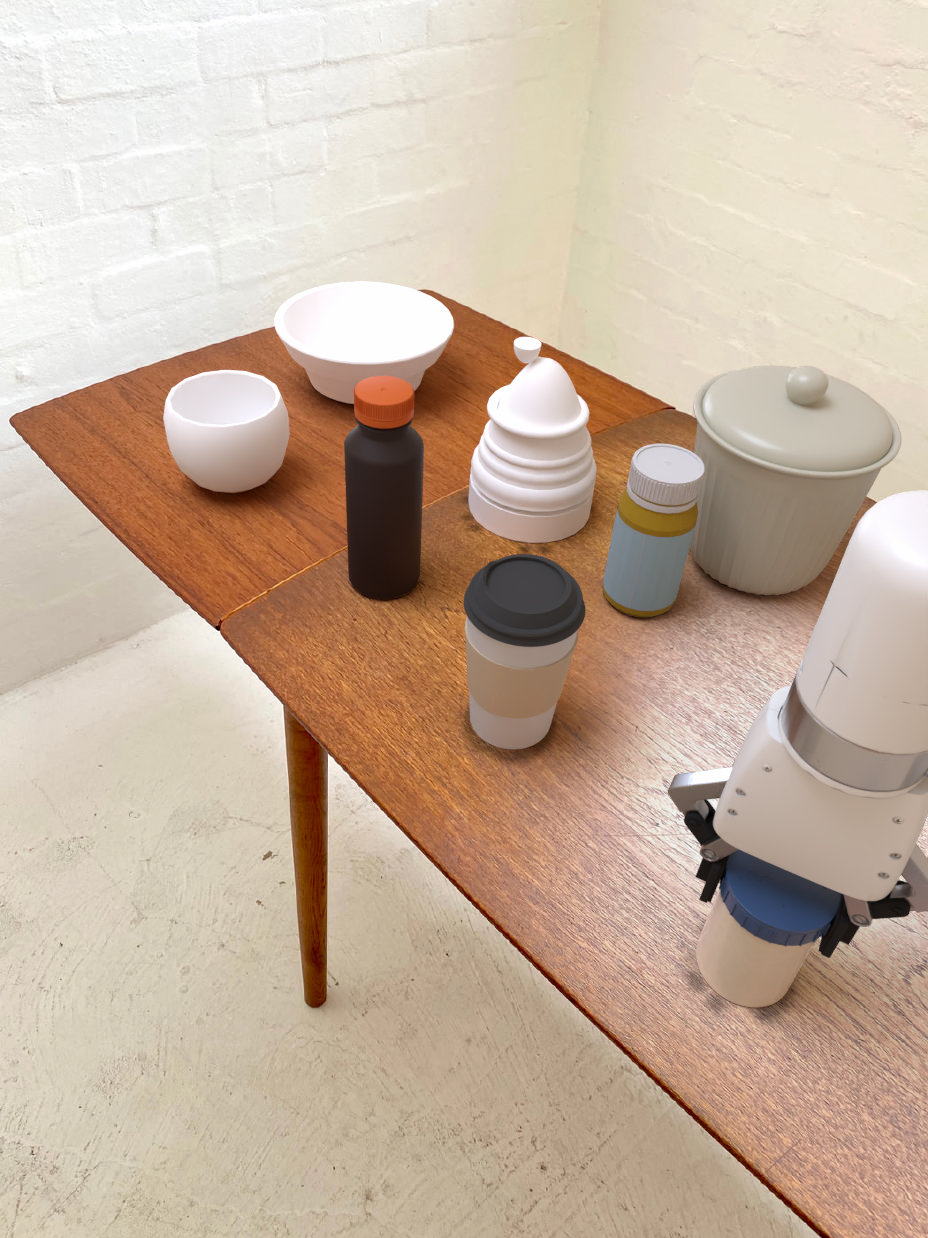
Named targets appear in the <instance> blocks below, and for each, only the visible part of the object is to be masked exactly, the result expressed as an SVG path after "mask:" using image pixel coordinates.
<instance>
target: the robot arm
mask: <svg viewBox="0 0 928 1238" xmlns="http://www.w3.org/2000/svg"><path fill="white" fill-rule="evenodd" d="M792 680H793V681H792V682H791V684H790V685H785V686H782V687H780V688H778V689H777V690H776V691H774V693H772V695H771V696H770V697H769V698H768V700H767V701H766V702H765V703H764V705H763V706H762V707H761V709H760V711H759V712H758V714H757V715H756V717H755V718H754V720H753V722H752V724H751V725H750V727H749V729H748V731H747V733H746V735H745V737H744V739H743V741H742V743H741V745H740V747H739V750H738V752H737V754H736V755H735V758H734V761H733V763H732V765H731V766H728V767H720V768H714V769H713V768H712V769H706V770H705V769H704V770H697V771H690V772H683V773H677V774H675V775H674V776H673V778H672V780H671V782H670V784H669V787H668V789H667V794H668V796H669V798H670V800H671V801H672V802H673V803H674V805H675V807H676V808H677V810H678V811H679V813H682V815H683V823H684V824H685V826H686V827H687V829H688V830H689V831H690V833H691V834H692V835H693V837H694V838H695V839H696V841H697V842H698V843H699V845H700V848H699V855H700V856H701V858H702V859H701V861H700V864H699V867H698V869H697V872H696V874H695V878H696V879H698V880H701V881H703V882H704V886H703V889H702V891H701V893H700V896H699V898H698V900H699V901H701V902H702V903H703V902H704V903H705V904H707V903H712V900H713V898H714V897H715V893H716V892H717V888H718V887H719V885H720V879H721V876H722V874H723V871H724V869H725V866H726V863H727V861H728V858H729V855H730V854H732V853H734V852H736V851H738V850H741V851H743V852H746V853H748V854H750V855H752V856H755V857H757V858H759V859H761V860H764V861H766V862H768V863H770V864H773V865H775V866H777V867H780V868H782V869H784V870H787V871H789V872H791V873H794V874H796V875H798V876H801V877H803V878H805V879H808V880H810V881H813V882H815V883H817V884H820V885H822V886H824V887H827V888H829V889H832V890H834V891H837V892H839V893H841V901H840V904H839V908H838V912H837V914H836V916H835V917H834V919H833V921H832V923H831V925H830V927H829V929H828V931H827V932H826V934H825V935H822V936H821V937H820V938H821V939H820V943H819V946H818V950H817V951H818V953H820V955H821V956H823V957H825V958H827V959H831V956H832V955H833V953H834V952H835V950H836V948H837V947H838V945H839V944H840V942H841V943H843V944H846V945H848V946H849V945H850V944H851V942H852V940H853V939H854V938H855V935H856V934H857V933H858V931H859V929H860V927H861V928H868V927H870V926H871V925H872V923H873V920H882V919H896V918H906V917H908V916H909V915H910V913H911V912H916V913H925V912H928V857H927V855H926V854H925V853H924V851H923V850H922V849H921V848H920V847H919V845H918V844H917V842H918V840H919V838H920V836H921V833H922V831H923V829H924V827H925V824H926V821H927V818H928V489H919V490H918V489H917V490H908V491H903V492H898V493H894V494H890V495H889V496H886V497H885V498H883V499H880V500H879V501H877V502H876V503H875V504H874V505H872V506H871V507H870V508H869V509H868V510H867V511H866V512H864V513H863V515H862V516H861V518H860V519H859V520H858V522H857V524H856V526H855V528H854V531H853V533H852V534H851V537H850V539H849V541H848V543H847V547H846V549H845V551H844V553H843V556H842V558H841V561H840V564H839V566H838V569H837V571H836V574H835V576H834V579H833V581H832V584H831V586H830V588H829V591H828V594H827V596H826V599H825V601H824V603H823V607H822V609H821V611H820V612H819V617H818V619H817V621H816V623H815V626H814V628H813V631H812V633H811V635H810V638H809V641H808V643H807V646H806V648H805V651H804V653H803V655H802V658H801V660H800V663H799V665H798V668H797V670H796V673H795V675H794V677H793V679H792ZM716 799H718V803H717V805H716V808H715V807H714V806H713V805H712V804H711V802H710V801H709V800H716ZM901 877H902V878H903V879H904V881H903V880H899V879H900V878H901Z"/></svg>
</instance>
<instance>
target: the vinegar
mask: <svg viewBox="0 0 928 1238" xmlns="http://www.w3.org/2000/svg"><path fill="white" fill-rule="evenodd" d="M353 407H354V409H353V411H354V412H353V413H354V420H355V422H356V423H357V425H356V426H355V427H354V428H352V429H351V430H350V431H349V432H348V433H347V435H346V438H345V439H344V442H343V449H344V451H343V452H344V453H343V454H344V482H345V483H344V484H345V509H346V510H345V511H346V513H345V515H346V539H347V540H346V541H347V542H346V543H347V571H348V572H347V573H348V580H349V582H350V584H351V587H353V589H354V590H355V591H357V592H358V593H359V594H361V595H362V596H366V597H368V598H371V599H376V600H393V599H397V598H400V597H403V596H405V595H407V594H409V593H411V592H412V591H413V590H414V589H415V588H416V587H417V586H418V583H419V580H420V577H421V559H422V557H421V556H422V529H423V525H422V523H423V498H424V497H423V496H424V495H423V494H424V493H423V492H424V466H425V465H424V462H425V460H424V459H425V445H424V440H423V437H422V436H421V434H419V433H418V431H417V430H416V429H415V428H414V427H413V426H411V425H412V423H413V421H414V415H415V414H414V413H415V391H414V389H413V387H412V386H411V385H410V384H409V383H408V382H406V381H405V380H403V379H400V378H397V377H392V376H374V377H369V378H366V379H364V380H362V381H360V382H359V383H358V384H357V385H356V386H355V387H354V404H353Z"/></svg>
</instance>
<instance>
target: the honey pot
mask: <svg viewBox="0 0 928 1238" xmlns="http://www.w3.org/2000/svg"><path fill="white" fill-rule="evenodd" d="M541 349H542V342H541V341H540V340H539V339H538V338H536V337H531V336H520V337H516V338H515V339H514V341H513V350H514V351H513V352H514V354H515V356H516V359H518V361H520V362H521V363H523V364H526V365H525V366H524V367H523V368H522V369H521V370H520V372H519V373H518V374H517V375H516V376H515V378H514V379H513V380H512V381H511V383H510V384H507V385H505V386H502V387H500V388H499V389H496V390H494V392H493V393H492V395H490V397H489V398H488V400H487V403H486V404H487V405H486V410H487V415H488V417H489V420H488V421H487V422H486V424H485V426H484V430H483V433H482V435H481V436H480V439H479V443H478V444H477V445H476V447H475V448H474V450H473V454H472V456H471V461H470V465H471V466H470V471H469V472H470V474H469V485H468V501H467V502H468V508H469V512H470V514H471V516H473V517H472V518H473V519H474V520H475V521H476V522H477V523H478V524H479V525H480V526H482V527H483V528H484V529H485V530H487V531H489V532H490V533H493V534H495V535H496V536H499V537H502V538H505V539H507V540H511V541H514V542H521V543H528V544H539V543H540V544H541V543H542V544H543V543H544V544H545V543H551V542H557V541H561V540H564V539H567V538H570V537H572V536H573V535H575V534H577V533H578V532H579V531H580V530H582V529H583V528H584V527H585V526H586V524H587V522H588V520H589V519H590V515H591V509H592V503H593V498H594V490H595V485H596V481H597V480H596V479H597V469H598V468H597V464H596V460H595V457H594V449H593V447H592V437H591V434H590V431H589V429H588V428H587V424H588V422H589V420H590V410H589V409H590V408H589V406H588V403H587V402H586V401H585V400H584V398H582V396H580V395H579V394H578V393H577V391H576V388H575V386H574V384H573V383H574V382H573V381H572V379H571V378H570V375H569V374H568V372H567V371H566V370H565V368H564V367H563V366H562V365H561V364H560V363H559V362H557V361H556V360H554V359H552V358H551V357H543V356H539V355H540V352H541Z"/></svg>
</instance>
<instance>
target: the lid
mask: <svg viewBox="0 0 928 1238" xmlns="http://www.w3.org/2000/svg"><path fill="white" fill-rule="evenodd" d="M719 889H720V890H721V895H722V898H723V900H722V901H723V902H724V904H725V905H726V907H727V909H728V911H729V912H730V915H731V916H732V917H733V918H734V919H735V920H736V921H737V922H738V923H739V924H740V926H741V927H743V928H744V929H746V930H747V931H748V932H750V933H751V934H753V935H754V936H756V937H758V938H760V939H762V940H765V941H767V942H769V943H774V944H777V945H783V946H785V947H786V946H802V945H804V944H808V943H810V942H813V943H814V942H815V941H816V942H817V940H818V939H820V938H822V935H825V934H826V932H827V931H828V929H829V927H830V925H831V923H832V921H833V919H834V917H835V916H836V914H837V912H838V908H839V904H840V901H841V893H839V892H837V891H834V890H832V889H829V888H827V887H824V886H822V885H820V884H817V883H815V882H813V881H810V880H808V879H805V878H803V877H801V876H798V875H796V874H794V873H791V872H789V871H787V870H784V869H782V868H780V867H777V866H775V865H773V864H770V863H768V862H766V861H764V860H761V859H759V858H757V857H755V856H752V855H750V854H748V853H746V852H743V851H741V850H738V851H736V852H734V853H732V854H730V855H729V858H728V861H727V863H726V866H725V869H724V871H723V874H722V876H721V879H720V881H719V885H718V890H719ZM816 939H817V940H816ZM816 942H815V943H816Z"/></svg>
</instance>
